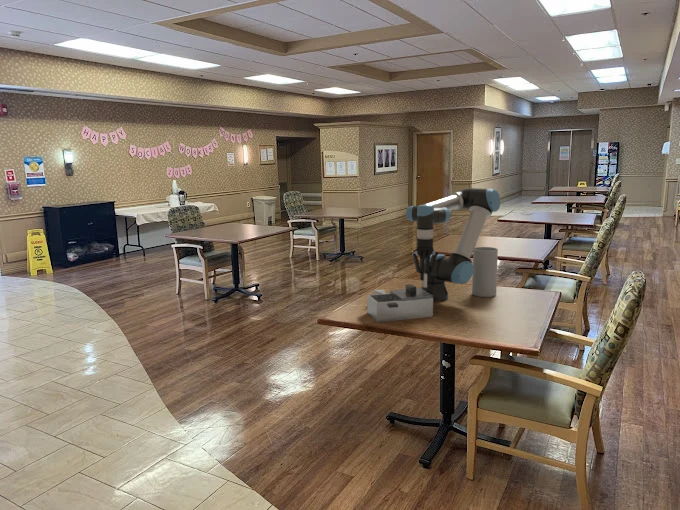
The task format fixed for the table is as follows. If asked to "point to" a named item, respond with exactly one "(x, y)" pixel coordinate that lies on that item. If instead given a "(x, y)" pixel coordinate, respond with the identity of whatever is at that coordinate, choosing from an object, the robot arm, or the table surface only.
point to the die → (378, 292)
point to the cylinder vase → (484, 271)
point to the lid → (411, 293)
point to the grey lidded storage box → (397, 308)
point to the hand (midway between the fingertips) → (424, 286)
